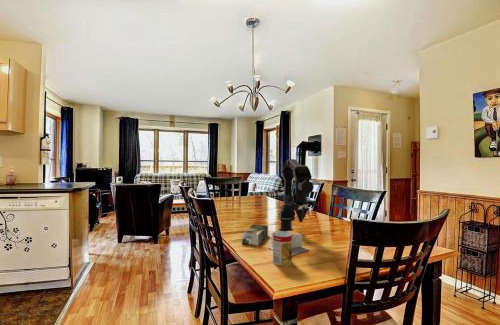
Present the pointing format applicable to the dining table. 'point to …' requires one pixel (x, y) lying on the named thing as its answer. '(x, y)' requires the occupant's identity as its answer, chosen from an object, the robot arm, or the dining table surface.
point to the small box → (293, 239)
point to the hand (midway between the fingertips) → (300, 222)
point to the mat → (295, 250)
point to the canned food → (282, 248)
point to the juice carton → (255, 234)
